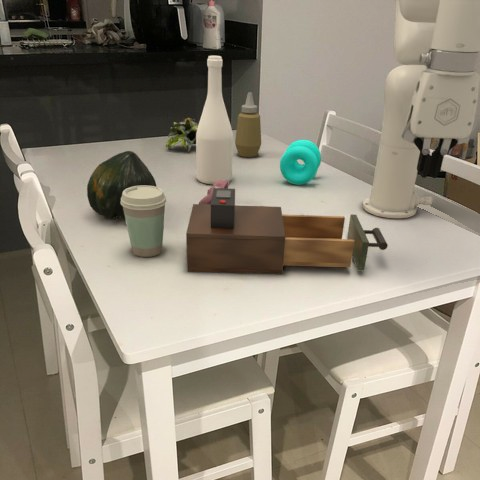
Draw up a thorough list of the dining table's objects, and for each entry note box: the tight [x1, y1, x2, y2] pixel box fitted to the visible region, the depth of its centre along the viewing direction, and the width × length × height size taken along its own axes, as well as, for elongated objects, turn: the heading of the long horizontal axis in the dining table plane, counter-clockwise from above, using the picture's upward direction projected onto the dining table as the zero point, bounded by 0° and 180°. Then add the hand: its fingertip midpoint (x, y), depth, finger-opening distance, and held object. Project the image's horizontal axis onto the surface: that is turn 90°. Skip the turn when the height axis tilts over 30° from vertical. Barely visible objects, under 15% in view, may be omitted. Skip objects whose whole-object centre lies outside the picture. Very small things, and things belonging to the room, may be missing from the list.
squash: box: [86, 150, 158, 219], centre depth 118 cm, size 14×15×15 cm
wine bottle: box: [195, 55, 234, 186], centre depth 135 cm, size 10×10×30 cm
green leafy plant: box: [165, 117, 199, 153], centre depth 165 cm, size 11×11×12 cm
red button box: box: [211, 187, 236, 228], centre depth 99 cm, size 4×9×5 cm, turn 179°
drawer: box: [282, 214, 389, 272], centre depth 103 cm, size 21×13×6 cm, turn 89°
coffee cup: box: [120, 185, 168, 258], centre depth 102 cm, size 8×8×12 cm
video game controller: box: [198, 179, 231, 205], centre depth 127 cm, size 10×5×7 cm, turn 168°
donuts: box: [279, 139, 322, 186], centre depth 142 cm, size 10×10×10 cm
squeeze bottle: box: [234, 91, 262, 158], centre depth 159 cm, size 8×8×18 cm
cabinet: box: [185, 203, 285, 275], centre depth 102 cm, size 18×15×8 cm
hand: (427, 175), depth 95 cm, fingers closed
